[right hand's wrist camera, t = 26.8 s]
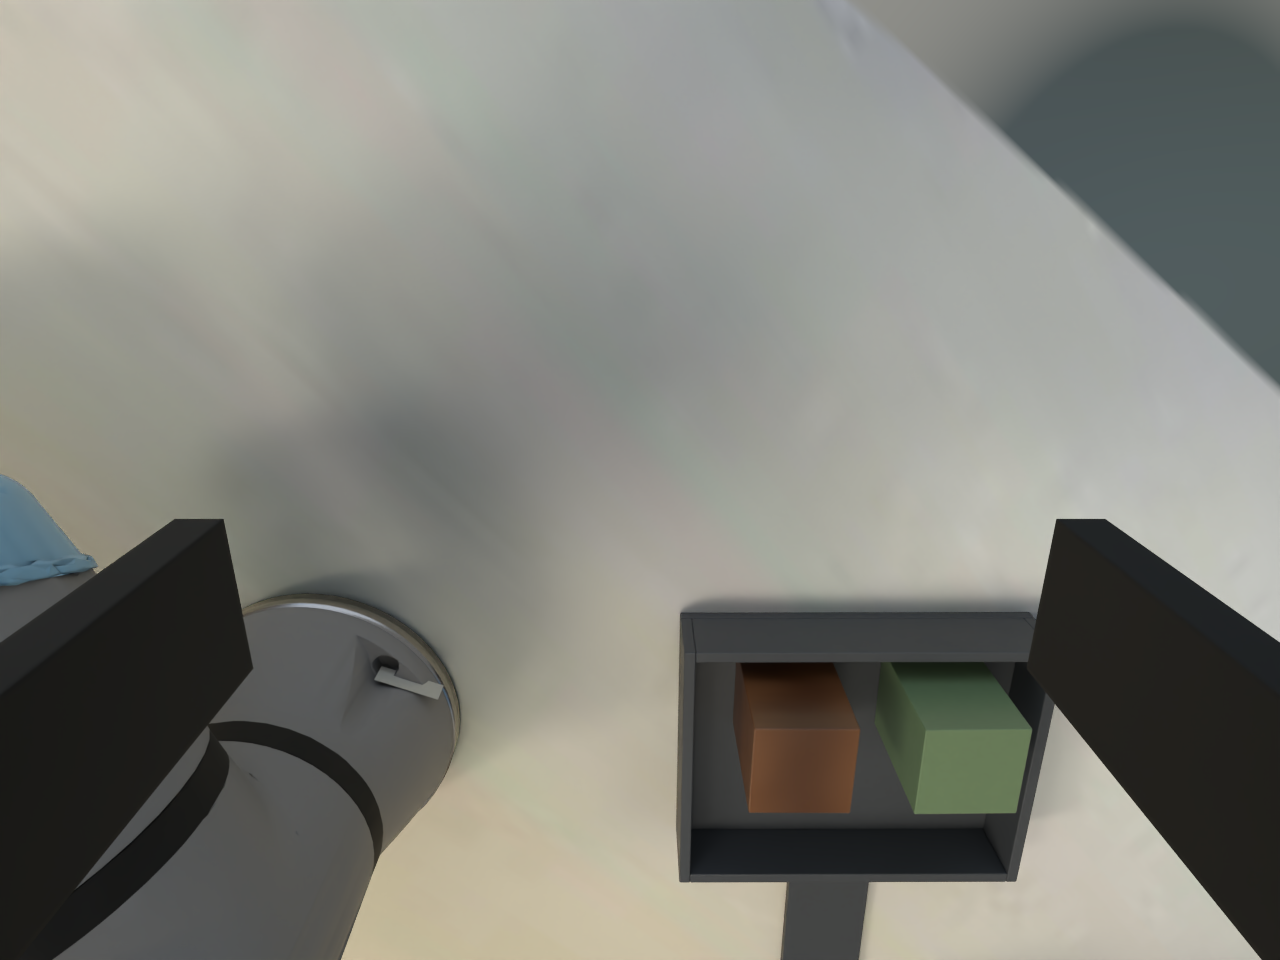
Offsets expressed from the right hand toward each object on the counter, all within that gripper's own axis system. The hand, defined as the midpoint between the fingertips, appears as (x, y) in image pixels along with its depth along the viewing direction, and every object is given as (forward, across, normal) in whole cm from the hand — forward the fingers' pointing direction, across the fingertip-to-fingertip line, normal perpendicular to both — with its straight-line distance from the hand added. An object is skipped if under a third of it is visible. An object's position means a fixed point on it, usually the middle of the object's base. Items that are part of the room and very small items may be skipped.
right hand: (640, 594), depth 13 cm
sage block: (+26, +16, -20) cm, 37 cm away
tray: (+27, +12, -33) cm, 44 cm away
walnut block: (+26, +8, -20) cm, 34 cm away
